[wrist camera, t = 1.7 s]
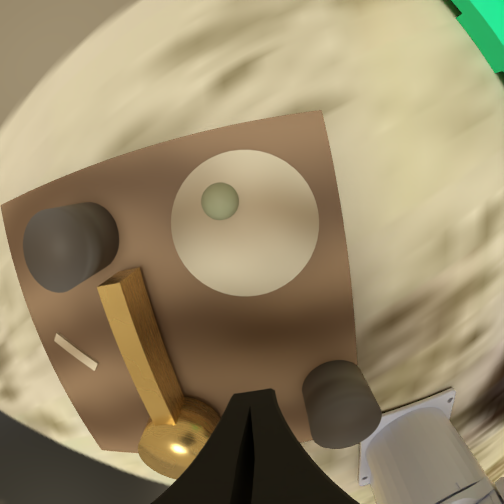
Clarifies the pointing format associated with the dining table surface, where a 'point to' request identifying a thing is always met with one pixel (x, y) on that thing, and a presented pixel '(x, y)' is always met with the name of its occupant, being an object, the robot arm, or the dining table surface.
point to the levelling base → (202, 277)
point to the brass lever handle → (155, 379)
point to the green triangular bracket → (485, 28)
